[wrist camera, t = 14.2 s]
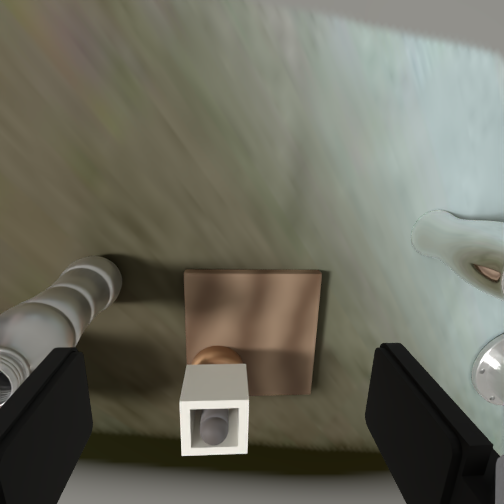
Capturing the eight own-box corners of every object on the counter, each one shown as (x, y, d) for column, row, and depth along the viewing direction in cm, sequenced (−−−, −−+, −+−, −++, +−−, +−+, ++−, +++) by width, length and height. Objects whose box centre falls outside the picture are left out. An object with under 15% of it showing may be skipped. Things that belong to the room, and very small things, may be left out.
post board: (318, 269, 42) (356, 318, 30) (308, 387, 47) (336, 469, 35) (185, 269, 41) (166, 319, 29) (189, 389, 46) (174, 476, 34)
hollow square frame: (245, 363, 39) (248, 399, 33) (244, 411, 41) (247, 453, 35) (186, 364, 39) (179, 401, 33) (188, 413, 41) (181, 455, 35)
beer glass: (451, 261, 43) (562, 314, 29) (401, 257, 43) (489, 309, 28) (466, 208, 41) (593, 238, 27) (414, 203, 41) (515, 231, 26)
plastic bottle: (138, 277, 41) (59, 386, 22) (100, 310, 42) (-7, 443, 23) (98, 240, 39) (-25, 322, 20) (60, 275, 40) (-93, 386, 21)
